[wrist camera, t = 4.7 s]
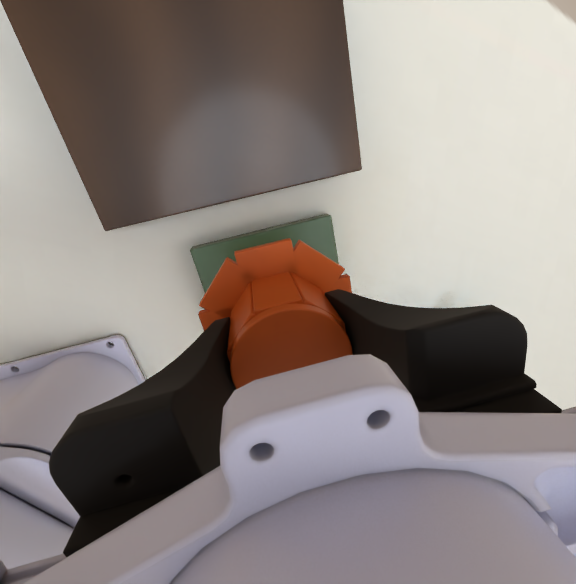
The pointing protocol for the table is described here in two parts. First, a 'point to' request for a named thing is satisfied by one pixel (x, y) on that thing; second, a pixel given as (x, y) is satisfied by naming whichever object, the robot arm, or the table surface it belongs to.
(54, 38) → the stand
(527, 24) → the table surface
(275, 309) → the hat
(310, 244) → the stand
